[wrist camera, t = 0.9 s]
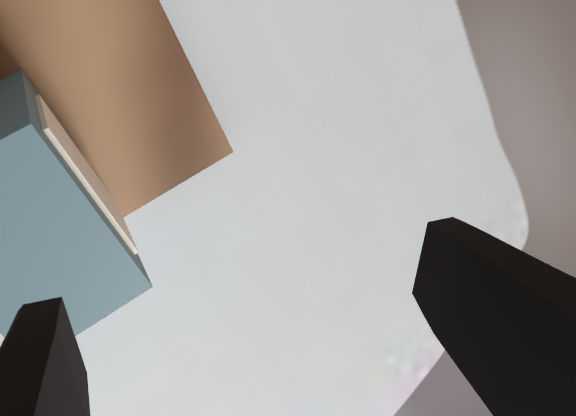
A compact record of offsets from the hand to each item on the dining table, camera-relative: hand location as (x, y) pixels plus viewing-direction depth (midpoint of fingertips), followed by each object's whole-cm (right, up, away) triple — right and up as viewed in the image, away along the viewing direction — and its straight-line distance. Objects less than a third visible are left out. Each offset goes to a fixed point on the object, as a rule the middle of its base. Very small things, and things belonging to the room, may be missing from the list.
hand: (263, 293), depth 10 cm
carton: (-10, +3, +9) cm, 14 cm away
